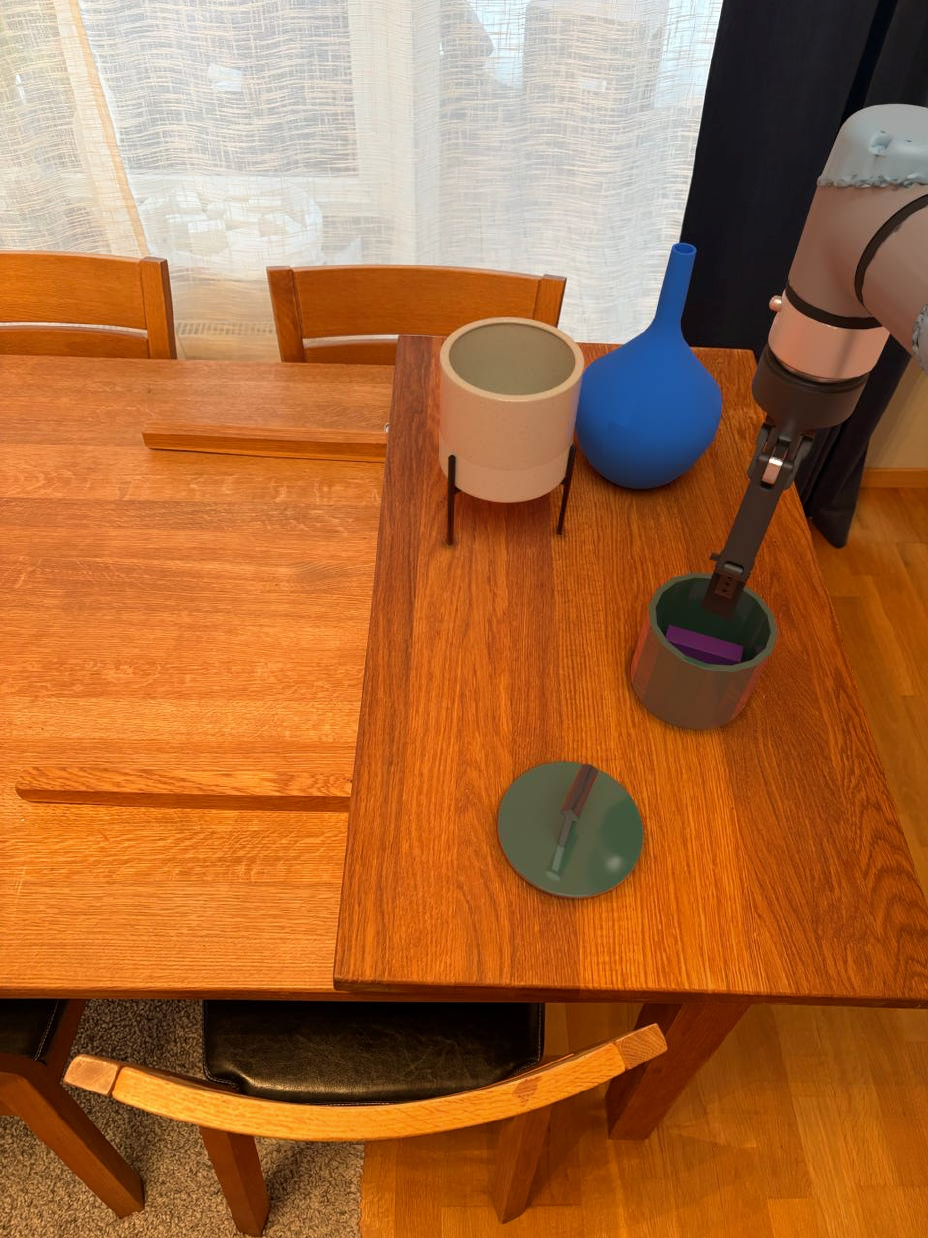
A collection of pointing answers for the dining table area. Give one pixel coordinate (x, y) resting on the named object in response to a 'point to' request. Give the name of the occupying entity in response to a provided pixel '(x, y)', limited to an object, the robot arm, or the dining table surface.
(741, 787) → the dining table surface
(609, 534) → the dining table surface
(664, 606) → the cylinder
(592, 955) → the dining table surface
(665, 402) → the vase
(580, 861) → the lid
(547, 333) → the planter
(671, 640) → the purple rectangular block
